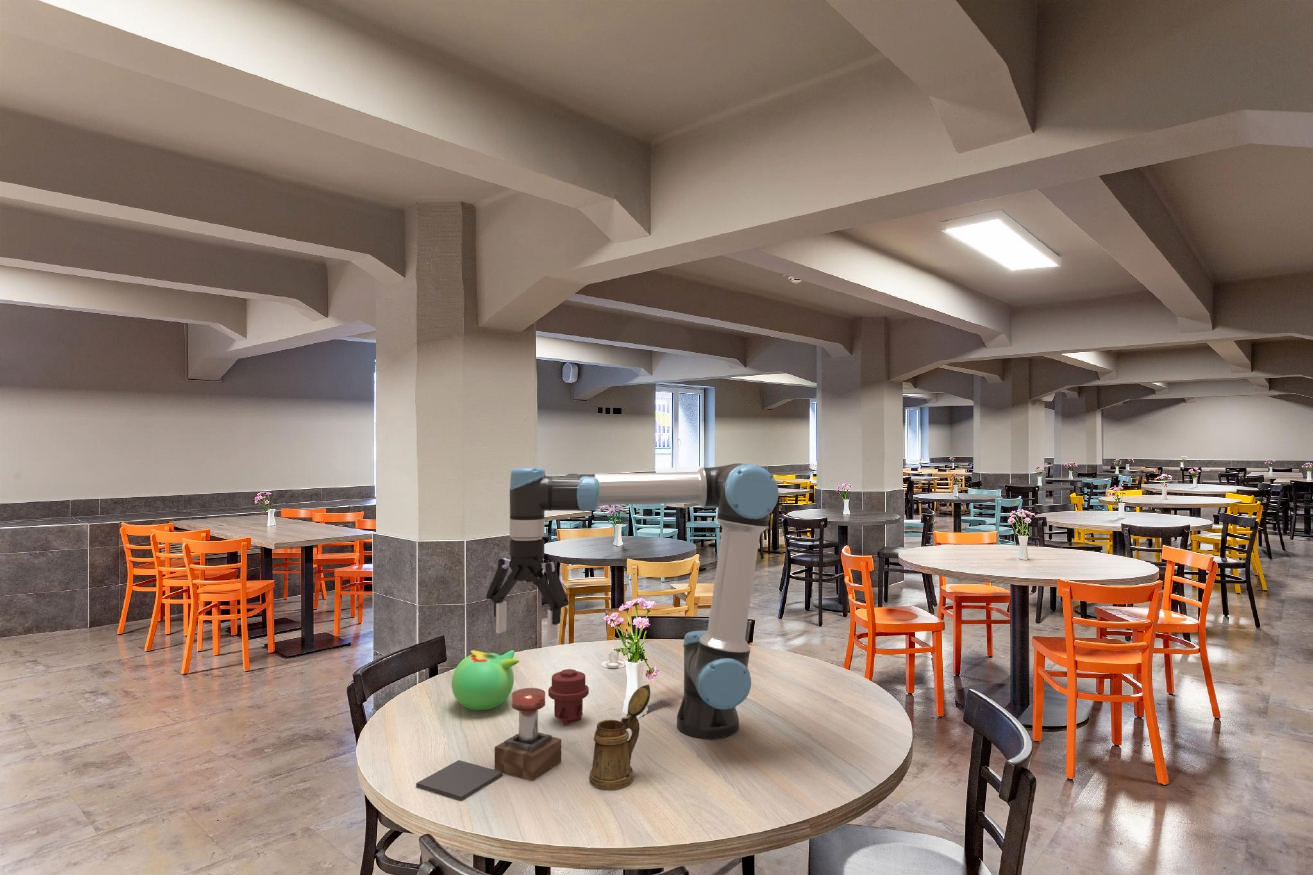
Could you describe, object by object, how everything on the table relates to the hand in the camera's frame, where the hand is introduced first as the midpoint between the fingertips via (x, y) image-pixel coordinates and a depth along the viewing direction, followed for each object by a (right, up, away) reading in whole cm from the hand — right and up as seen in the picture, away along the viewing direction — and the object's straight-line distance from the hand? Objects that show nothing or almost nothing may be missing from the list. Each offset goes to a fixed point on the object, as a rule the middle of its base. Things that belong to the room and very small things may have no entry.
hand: (526, 635), depth 157 cm
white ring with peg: (+12, -29, +67) cm, 74 cm away
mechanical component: (+7, -27, +22) cm, 36 cm away
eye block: (+1, -27, -4) cm, 27 cm away
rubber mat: (-12, -27, -11) cm, 31 cm away
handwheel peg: (+1, -27, -4) cm, 27 cm away
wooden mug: (+21, -27, -9) cm, 35 cm away
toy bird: (-16, -28, +32) cm, 45 cm away
